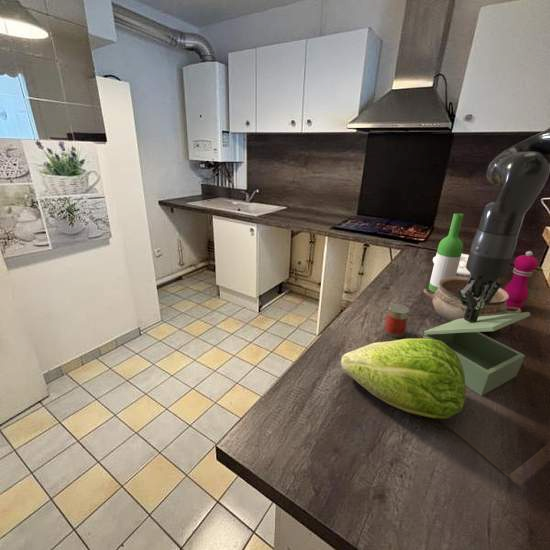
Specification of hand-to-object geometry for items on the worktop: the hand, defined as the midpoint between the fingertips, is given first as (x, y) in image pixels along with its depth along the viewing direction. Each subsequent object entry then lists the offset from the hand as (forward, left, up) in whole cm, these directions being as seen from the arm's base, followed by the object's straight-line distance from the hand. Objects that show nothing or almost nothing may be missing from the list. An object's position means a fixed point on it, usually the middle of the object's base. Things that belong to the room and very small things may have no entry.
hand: (469, 320), depth 69 cm
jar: (+5, -16, -12) cm, 21 cm away
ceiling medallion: (-71, -43, -13) cm, 84 cm away
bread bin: (0, +2, -12) cm, 13 cm away
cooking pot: (-19, -11, -13) cm, 25 cm away
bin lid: (0, +1, -1) cm, 1 cm away
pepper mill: (-46, -11, -13) cm, 49 cm away
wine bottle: (-33, -29, -13) cm, 46 cm away
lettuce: (+22, 0, -13) cm, 25 cm away
